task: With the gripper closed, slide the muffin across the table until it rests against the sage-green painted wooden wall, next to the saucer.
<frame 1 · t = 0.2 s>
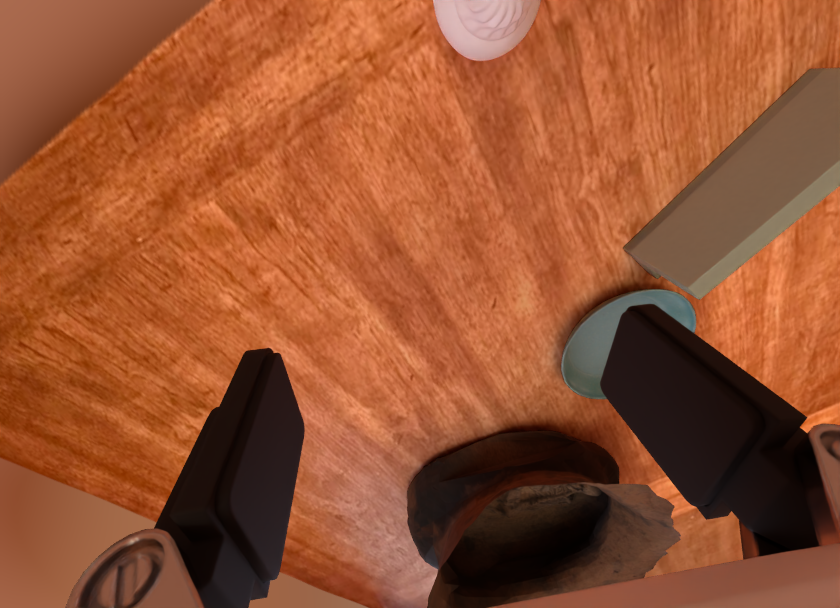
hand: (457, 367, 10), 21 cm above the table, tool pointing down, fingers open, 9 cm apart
bowl: (512, 480, 53), on the table
wall: (711, 174, 30), on the table
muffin: (471, 6, 22), on the table
saucer: (612, 334, 39), on the table
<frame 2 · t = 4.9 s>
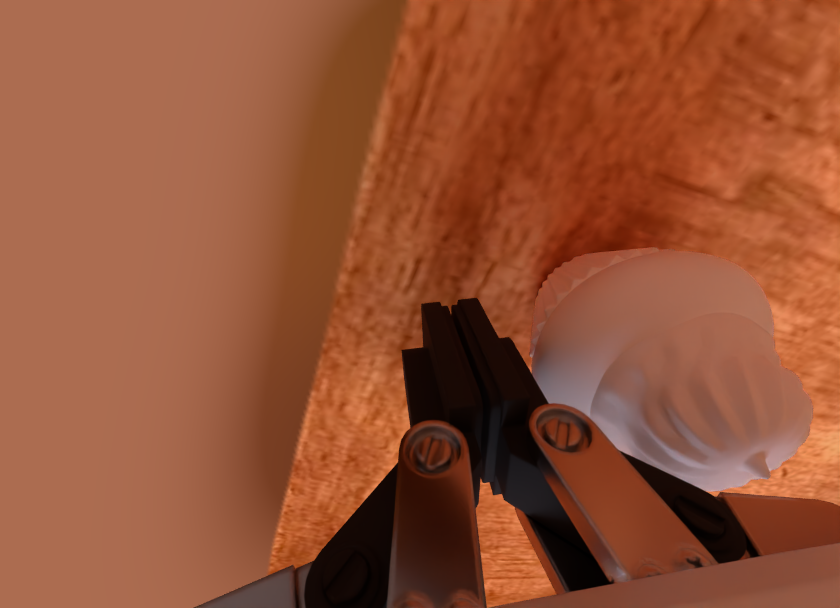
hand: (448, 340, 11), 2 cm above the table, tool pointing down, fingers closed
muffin: (575, 291, 13), on the table, touching gripper
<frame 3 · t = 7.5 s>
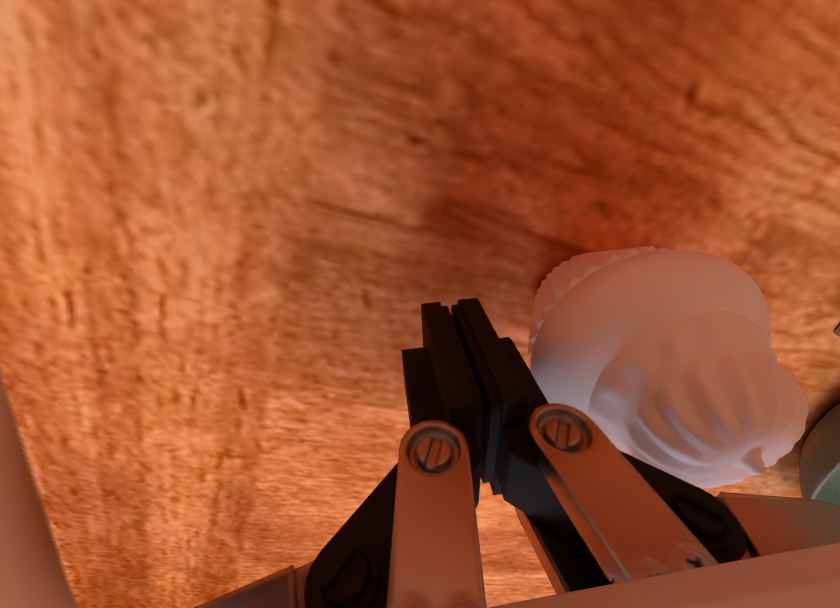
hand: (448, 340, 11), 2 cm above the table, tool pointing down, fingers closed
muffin: (573, 290, 13), on the table, touching gripper
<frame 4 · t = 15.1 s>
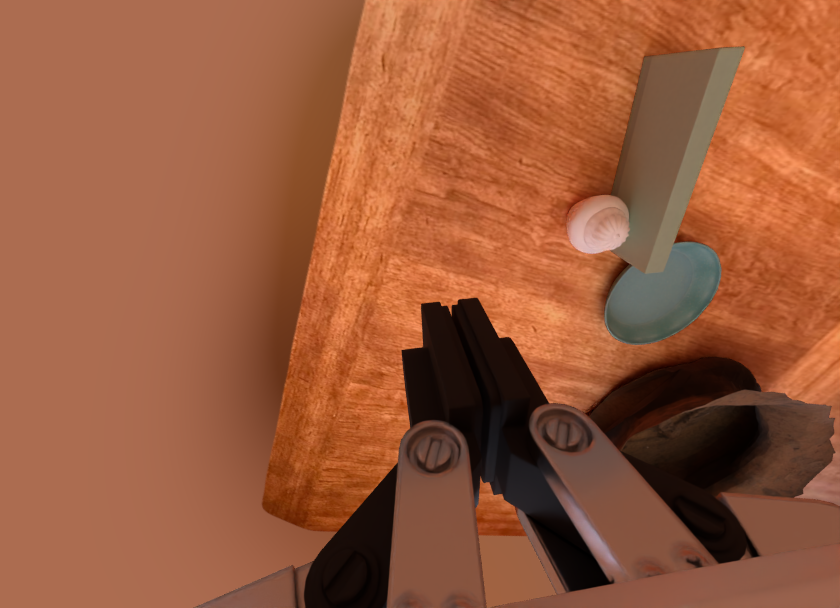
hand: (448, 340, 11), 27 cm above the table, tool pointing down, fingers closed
bowl: (655, 411, 60), on the table
wall: (627, 161, 36), on the table
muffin: (579, 214, 39), on the table, touching wall
saucer: (647, 287, 45), on the table
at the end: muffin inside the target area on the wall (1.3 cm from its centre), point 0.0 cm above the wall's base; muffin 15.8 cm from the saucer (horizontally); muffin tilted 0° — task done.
